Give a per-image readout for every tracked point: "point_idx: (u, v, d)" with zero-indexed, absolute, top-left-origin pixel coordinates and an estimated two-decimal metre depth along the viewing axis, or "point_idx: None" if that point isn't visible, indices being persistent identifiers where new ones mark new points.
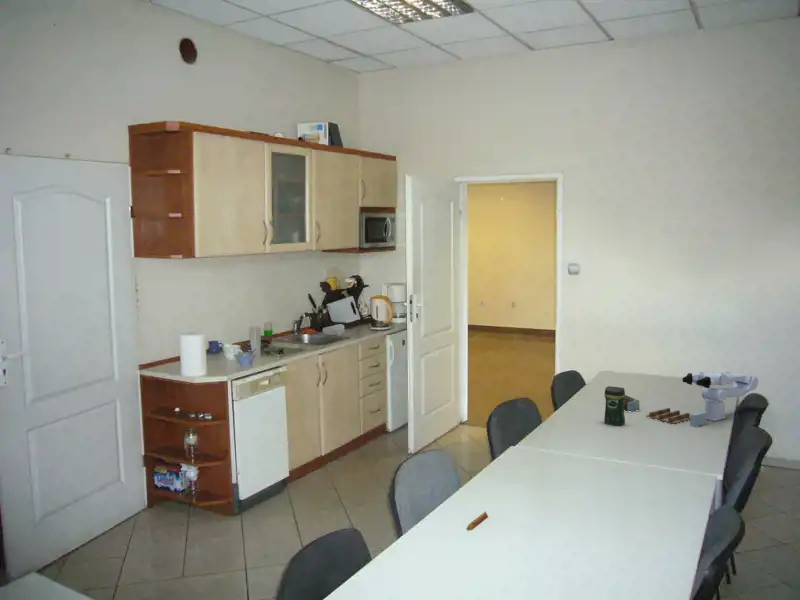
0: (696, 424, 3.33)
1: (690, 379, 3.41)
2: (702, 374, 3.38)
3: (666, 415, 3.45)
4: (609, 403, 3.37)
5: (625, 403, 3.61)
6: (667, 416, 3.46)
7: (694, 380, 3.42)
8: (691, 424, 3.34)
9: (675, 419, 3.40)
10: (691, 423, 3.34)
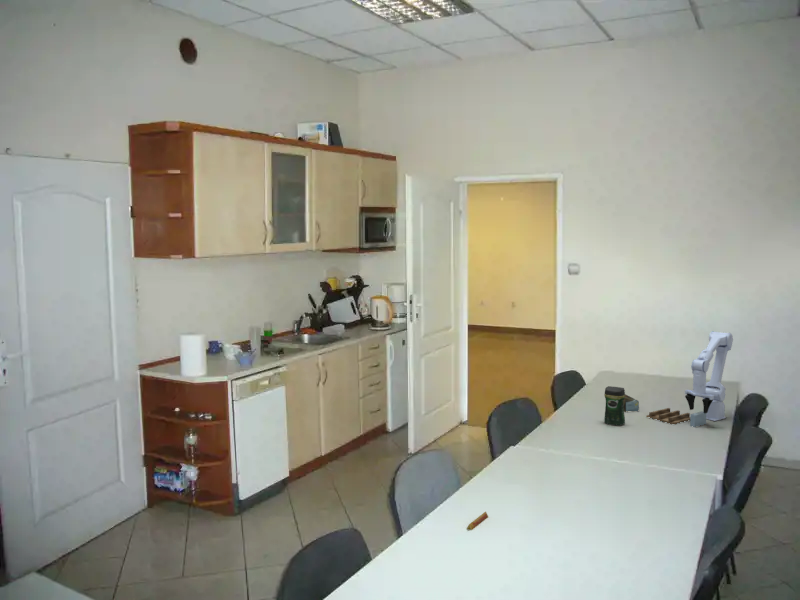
0: (696, 424, 3.33)
1: (692, 398, 3.38)
2: None
3: (666, 415, 3.45)
4: (609, 403, 3.37)
5: (624, 403, 3.62)
6: (667, 416, 3.46)
7: None
8: (691, 424, 3.34)
9: (675, 419, 3.40)
10: (691, 423, 3.34)
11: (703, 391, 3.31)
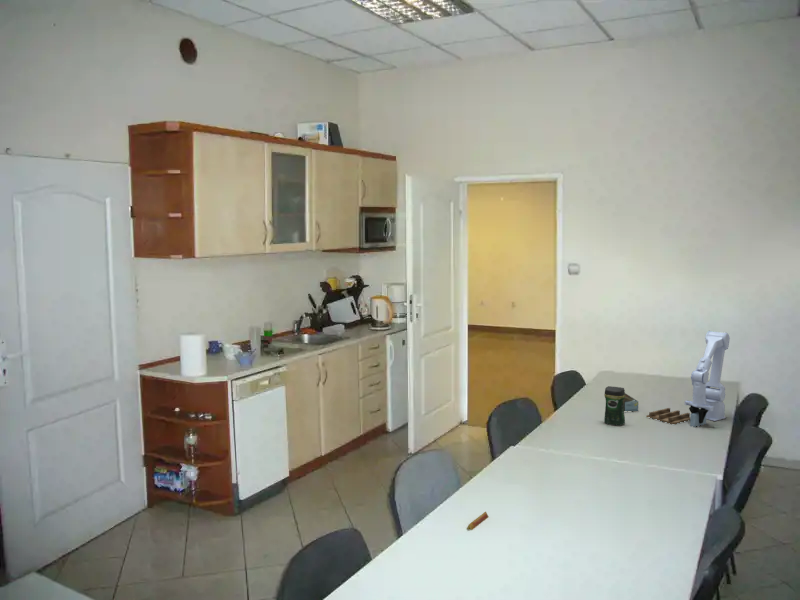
0: (696, 424, 3.33)
1: (696, 410, 3.36)
2: None
3: (666, 415, 3.45)
4: (609, 403, 3.37)
5: None
6: (667, 416, 3.46)
7: None
8: (691, 424, 3.34)
9: (675, 419, 3.40)
10: (691, 423, 3.34)
11: (703, 402, 3.32)
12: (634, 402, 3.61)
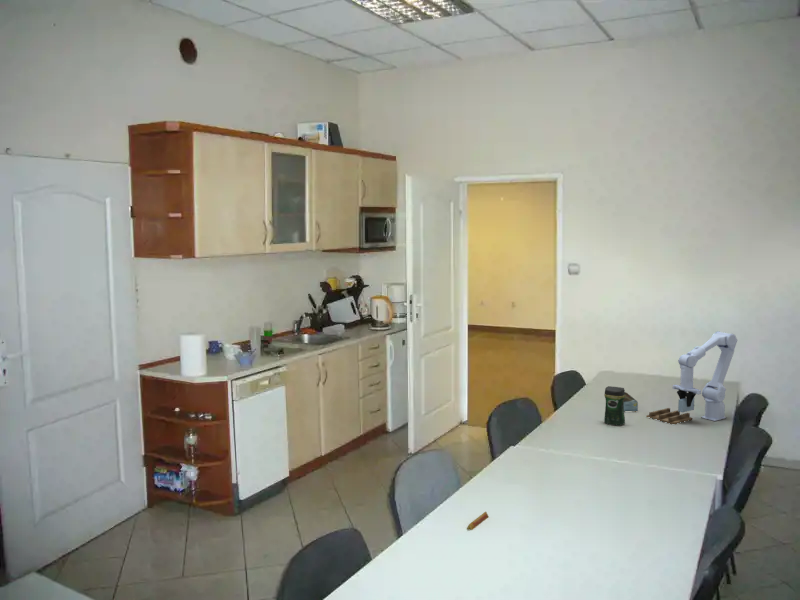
0: (684, 409, 3.37)
1: (683, 394, 3.40)
2: (683, 390, 3.37)
3: (666, 415, 3.45)
4: (609, 403, 3.37)
5: None
6: (667, 416, 3.46)
7: None
8: (679, 409, 3.38)
9: (675, 419, 3.40)
10: (679, 408, 3.38)
11: (690, 386, 3.36)
12: (633, 402, 3.60)
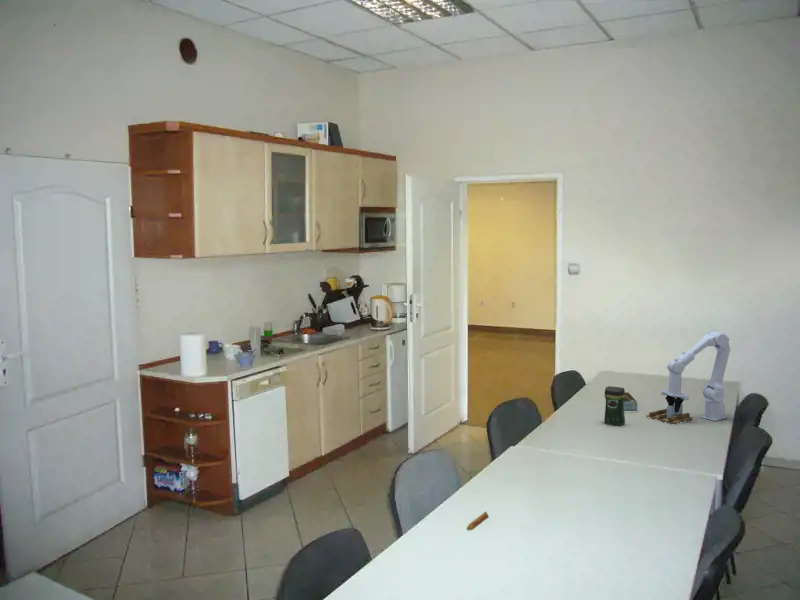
0: (672, 416, 3.42)
1: (672, 399, 3.45)
2: (671, 395, 3.42)
3: (666, 415, 3.45)
4: (609, 403, 3.37)
5: None
6: None
7: None
8: (667, 416, 3.43)
9: (675, 419, 3.40)
10: (667, 415, 3.43)
11: (678, 392, 3.41)
12: (632, 402, 3.60)
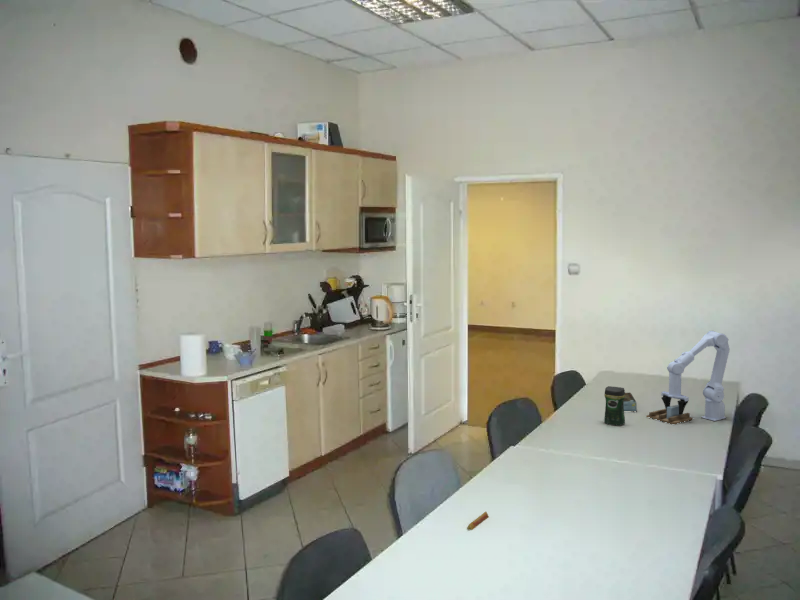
0: None
1: (668, 400, 3.47)
2: (671, 396, 3.42)
3: (666, 415, 3.45)
4: (609, 403, 3.37)
5: None
6: None
7: None
8: (667, 417, 3.43)
9: (675, 419, 3.40)
10: (667, 416, 3.43)
11: (678, 393, 3.41)
12: (632, 402, 3.60)
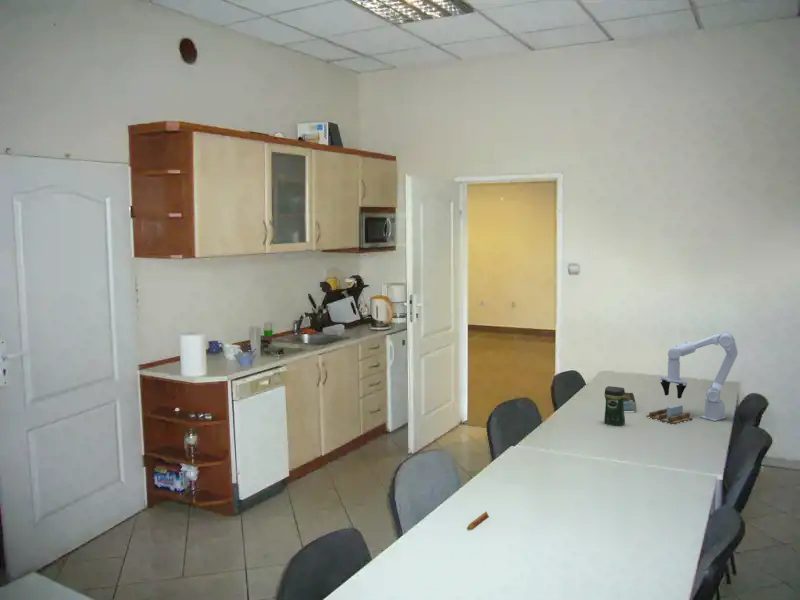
0: None
1: (667, 384, 3.57)
2: None
3: (666, 415, 3.45)
4: (609, 403, 3.37)
5: None
6: None
7: None
8: (667, 417, 3.43)
9: (675, 419, 3.40)
10: (667, 416, 3.43)
11: (677, 377, 3.50)
12: (631, 402, 3.60)
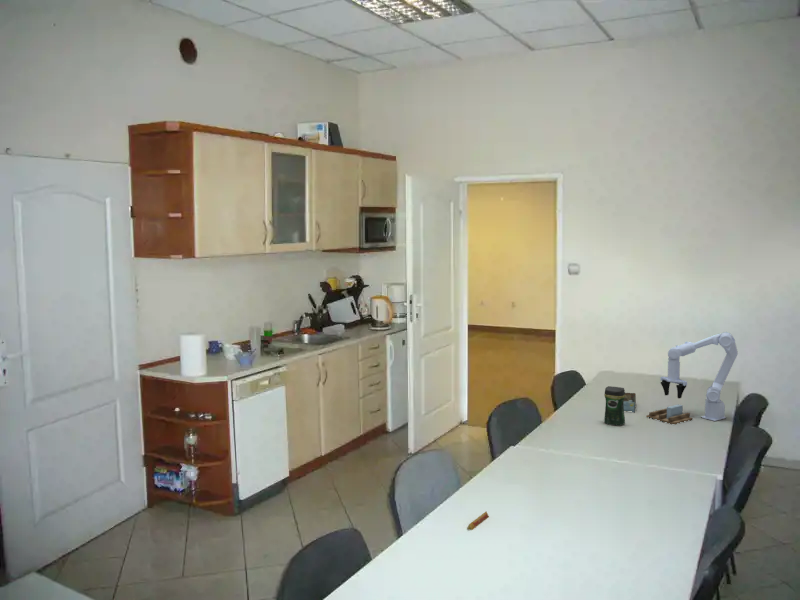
0: None
1: (667, 384, 3.57)
2: None
3: (666, 415, 3.45)
4: (609, 403, 3.37)
5: None
6: None
7: None
8: (667, 417, 3.43)
9: (675, 419, 3.40)
10: (667, 416, 3.43)
11: (677, 377, 3.50)
12: (630, 402, 3.60)
